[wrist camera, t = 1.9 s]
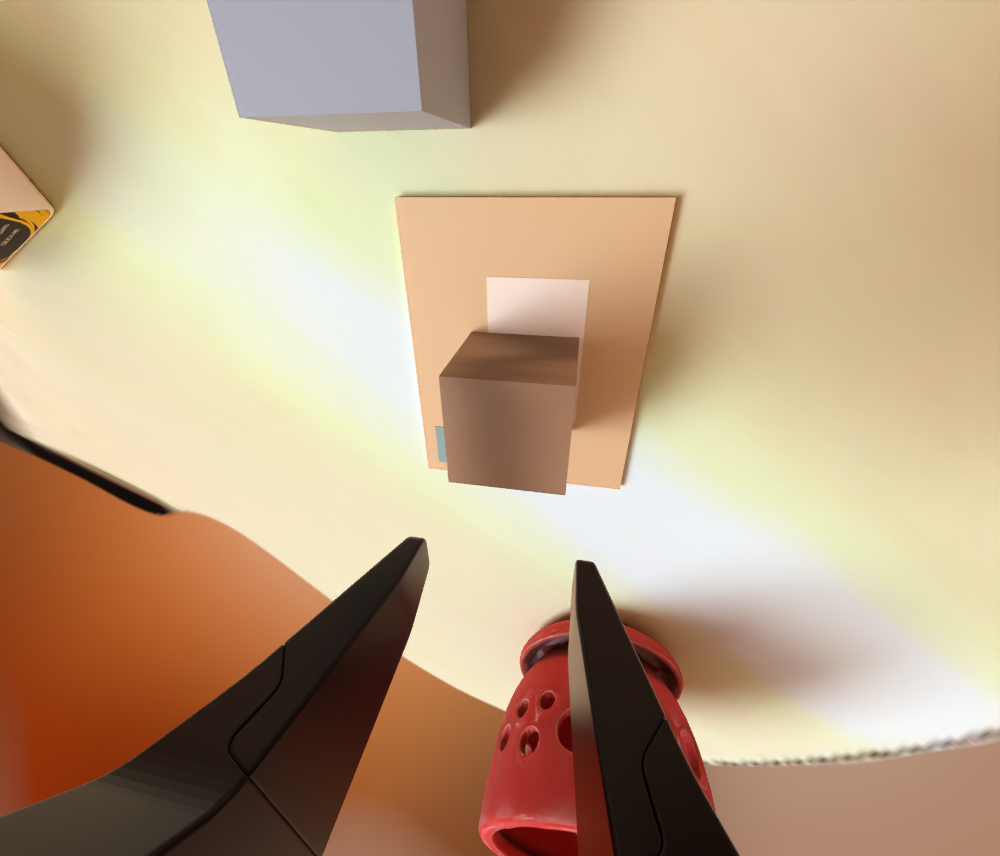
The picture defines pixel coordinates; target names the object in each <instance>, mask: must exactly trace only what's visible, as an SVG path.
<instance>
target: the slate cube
mask: <svg viewBox="0 0 1000 856" xmlns="http://www.w3.org/2000/svg"><path fill="white" fill-rule="evenodd" d="M207 3H208V7H209V10H210V14H211V17H212V21H213V25H214V28H215V32H216V35H217V39H218V43H219V46H220V50H221V53H222V57H223V61H224V64H225V68H226V71H227V75H228V78H229V82H230V86H231V89H232V93H233V96H234V100H235V104H236V107H237V111H238V114H239V117H240V118H247V119H254V120H260V121H267V122H273V123H280V124H287V125H293V126H300V127H307V128H313V129H320V130H327V131H333V132H354V131H391V130H429V129H466V128H471V116H470V89H469V62H468V35H467V8H466V0H207Z"/></svg>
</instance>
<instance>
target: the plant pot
mask: <svg viewBox="0 0 1000 856" xmlns="http://www.w3.org/2000/svg"><path fill="white" fill-rule="evenodd" d="M623 625H624V624H623ZM624 627H625V630H626V632H627V634H628V636H629V638H630V640H631V642H632V645H633V647H634V649H635V651H636V653H637V655H638V657H639V660H640V662H641V664H642V666H643V668H644V670H645V673H646V675H647V677H648V679H649V681H650V683H651V685H652V688H653V690H654V692H655V694H656V696H657V698H658V700H659V703H660V705H661V707H662V709H663V711H664V713H665V718H664V719H667V720H668V722H669V724H670V726H671V728H672V730H673V732H674V734H675V737H676V739H677V741H678V743H679V745H680V747H681V749H682V751H683V753H684V755H685V757H686V759H687V761H688V763H689V765H690V767H691V769H692V771H693V773H694V775H695V777H696V779H697V781H698V782H699V784H700V786H701V788H702V790H703V791H704V793H705V795H706V797H707V799H708V801H709V802H710V804H711V806H712V808H713V810H714V811H715V808H714V803H713V798H712V793H711V789H710V785H709V782H708V778H707V775H706V771H705V768H704V764H703V761H702V758H701V755H700V752H699V749H698V746H697V743H696V741H695V738H694V735H693V733H692V731H691V728H690V726H689V724H688V721H687V719H686V717H685V715H684V713H683V711H682V710H681V708H680V706H679V704H678V702H677V700H678V699H679V697H680V695H681V693H682V689H683V678H682V674H681V672H680V669H679V667H678V665H677V663H676V662H675V660H674V659H673V657H672V656H671V655H670V653H669V652H668V651H667V650H666V649H665V648H664V647H662V646H661V645H660V644H659V643H658V642H656V641H655V640H654V639H652V638H650V637H649V636H647V635H645V634H643V633H641V632H639V631H637V630H635V629H633V628H630V627H628V626H627V625H624ZM569 631H570V620H566V621H561V622H557V623H554V624H551V625H549V626H547V627H545V628H543V629H541V630H540V631H538V632H537V633H535V634H534V635H533V636H532V637H531V638H530V639H529V640H528V642H527V643H526V644H525V646H524V648H523V650H522V652H521V656H520V667H521V671H522V674H523V676H524V677H523V679H522V680H521V682H520V684H519V685H518V687H517V689H516V690H515V692H514V694H513V696H512V698H511V700H510V703H509V705H508V707H507V710H506V713H505V716H504V719H503V722H502V725H501V729H500V731H499V735H498V738H497V741H496V744H495V749H494V754H493V760H492V765H491V768H490V772H489V775H488V780H487V783H486V789H485V794H484V799H483V804H482V810H481V816H480V822H479V833H480V836H481V838H482V840H483V841H484V843H485V844H486V845H487V846H488V847H489V848H490V849H491V850H492V851H493V852H495V853H496V854H497V855H499V856H578V840H577V834H576V833H577V821H576V802H575V784H574V765H573V746H572V728H571V709H570V690H569V672H568V647H569ZM525 745H526V747H527V756H526V755H525Z"/></svg>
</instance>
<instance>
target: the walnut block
mask: <svg viewBox="0 0 1000 856" xmlns="http://www.w3.org/2000/svg"><path fill="white" fill-rule="evenodd" d="M578 349H579V338H577V337H558V336H540V335H521V334H503V333H485V332H471V333H470V334H469V336H468V337H467V338H466V340H465V341H464V342H463V344H462V345H461V347H460V348H459V349H458V351H457V352H456V353H455V355H454V356H453V357H452V359H451V360H450V362H449V363H448V364H447V366H446V367H445V368H444V370H443V371H442V372H441V374H440V375H439V385H440V395H441V406H442V416H443V427H444V437H445V447H446V458H447V468H448V479H449V482H455V483H463V484H472V485H481V486H489V487H498V488H507V489H515V490H524V491H533V492H541V493H550V494H559V495H565V492H566V483H567V473H568V463H569V453H570V443H571V433H572V423H573V413H574V404H575V394H576V382H577V366H578Z"/></svg>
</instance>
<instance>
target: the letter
mask: <svg viewBox="0 0 1000 856" xmlns="http://www.w3.org/2000/svg"><path fill="white" fill-rule="evenodd" d="M675 201H676V198H675V197H395V205H396V213H397V221H398V229H399V237H400V245H401V253H402V261H403V268H404V276H405V284H406V292H407V300H408V308H409V316H410V324H411V332H412V339H413V347H414V355H415V363H416V371H417V379H418V387H419V395H420V403H421V411H422V418H423V426H424V434H425V442H426V450H427V458H428V466H429V468H431V469H440V470H448V468H447V458H446V447H445V437H444V427H443V416H442V406H441V395H440V385H439V375H440V374H441V372H442V371H443V370H444V368H445V367H446V366H447V364H448V363H449V362H450V360H451V359H452V357H453V356H454V355H455V353H456V352H457V351H458V349H459V348H460V347H461V345H462V344H463V342H464V341H465V340H466V338H467V337H468V336H469V334H470V333H471V332H485V333H503V334H521V335H540V336H558V337H577V338H579V349H578V366H577V382H576V394H575V404H574V413H573V423H572V433H571V443H570V453H569V463H568V473H567V484H576V485H585V486H594V487H603V488H612V489H620V486H621V481H622V475H623V470H624V465H625V460H626V455H627V449H628V444H629V439H630V434H631V429H632V424H633V418H634V413H635V408H636V403H637V398H638V392H639V387H640V382H641V377H642V372H643V366H644V361H645V356H646V351H647V346H648V341H649V335H650V330H651V325H652V320H653V315H654V309H655V304H656V299H657V294H658V289H659V284H660V278H661V273H662V268H663V263H664V258H665V252H666V247H667V242H668V237H669V232H670V227H671V221H672V216H673V211H674V206H675Z"/></svg>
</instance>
